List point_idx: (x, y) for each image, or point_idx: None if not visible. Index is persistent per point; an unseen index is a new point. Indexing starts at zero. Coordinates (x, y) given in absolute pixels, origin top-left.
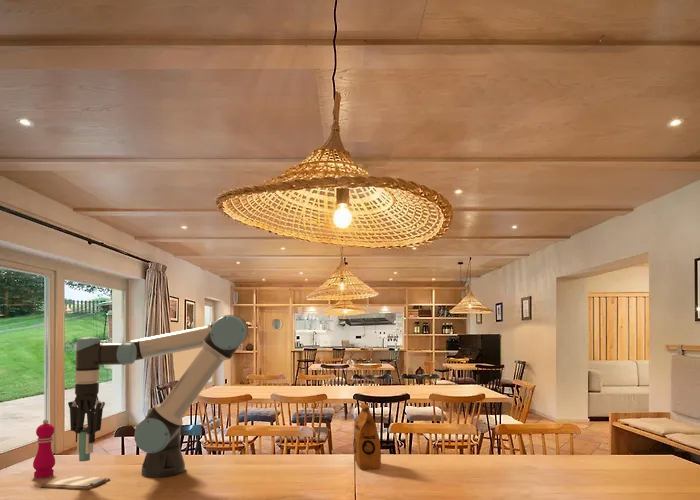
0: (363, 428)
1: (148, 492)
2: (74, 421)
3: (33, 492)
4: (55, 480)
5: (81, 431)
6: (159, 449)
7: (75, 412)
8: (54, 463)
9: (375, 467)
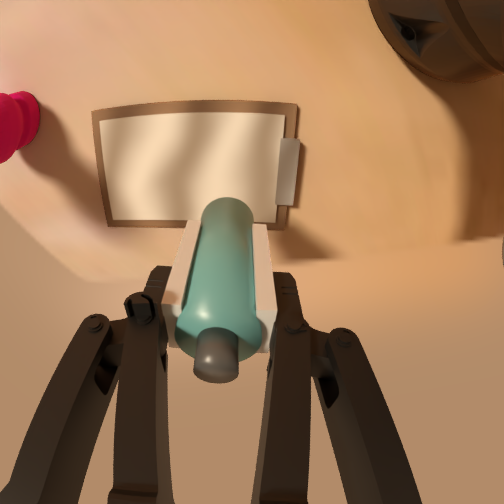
0: None
1: (455, 229)
2: (100, 409)
3: (132, 263)
4: (110, 181)
5: (177, 338)
6: None
7: (67, 470)
8: (15, 110)
9: None
